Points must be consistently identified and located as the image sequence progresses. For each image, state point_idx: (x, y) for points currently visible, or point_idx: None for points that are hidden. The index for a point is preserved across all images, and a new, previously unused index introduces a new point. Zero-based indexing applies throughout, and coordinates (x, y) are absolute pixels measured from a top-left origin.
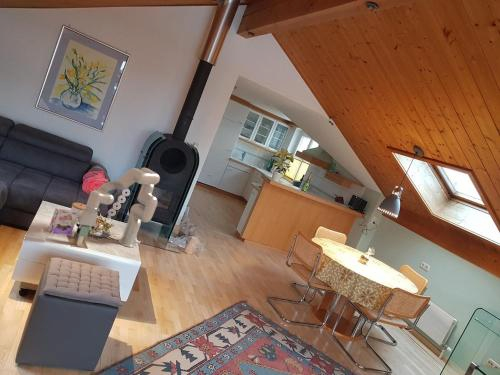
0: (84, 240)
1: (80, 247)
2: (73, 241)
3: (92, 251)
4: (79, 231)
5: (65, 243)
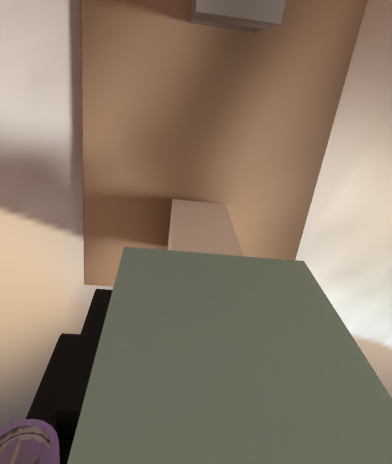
0: (354, 43)
1: None
2: (152, 129)
3: None
4: None
5: (36, 188)
